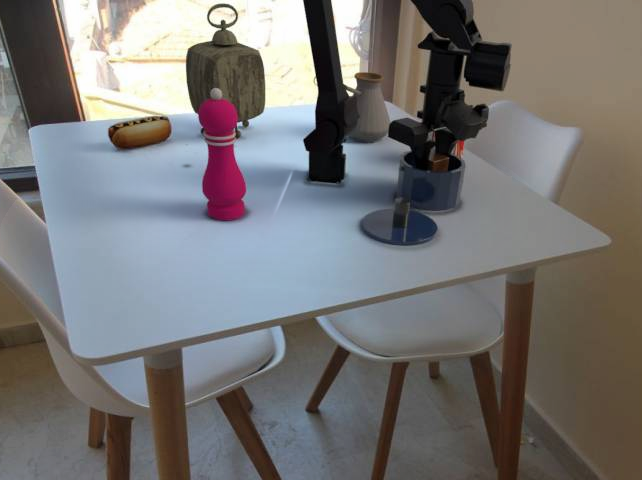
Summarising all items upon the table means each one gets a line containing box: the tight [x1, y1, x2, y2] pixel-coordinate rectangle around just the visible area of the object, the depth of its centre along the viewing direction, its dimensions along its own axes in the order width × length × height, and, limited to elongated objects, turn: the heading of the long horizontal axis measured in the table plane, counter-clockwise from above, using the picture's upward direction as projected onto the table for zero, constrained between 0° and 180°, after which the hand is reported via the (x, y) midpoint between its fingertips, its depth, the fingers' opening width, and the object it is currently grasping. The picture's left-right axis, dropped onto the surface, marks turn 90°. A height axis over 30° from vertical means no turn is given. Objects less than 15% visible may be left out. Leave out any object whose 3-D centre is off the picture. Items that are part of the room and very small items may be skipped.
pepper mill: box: [197, 88, 247, 221], centre depth 99 cm, size 7×7×20 cm
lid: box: [361, 197, 438, 246], centre depth 103 cm, size 13×13×5 cm
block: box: [415, 151, 449, 172], centre depth 111 cm, size 4×4×4 cm
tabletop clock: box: [185, 3, 266, 139], centre depth 127 cm, size 14×9×25 cm, turn 133°
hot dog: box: [107, 115, 172, 150], centre depth 125 cm, size 5×13×5 cm, turn 135°
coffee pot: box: [313, 71, 392, 143], centre depth 133 cm, size 21×12×15 cm, turn 137°
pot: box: [396, 149, 466, 212], centre depth 113 cm, size 12×12×8 cm
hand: (430, 173), depth 112 cm, fingers closed on block, 4 cm apart
